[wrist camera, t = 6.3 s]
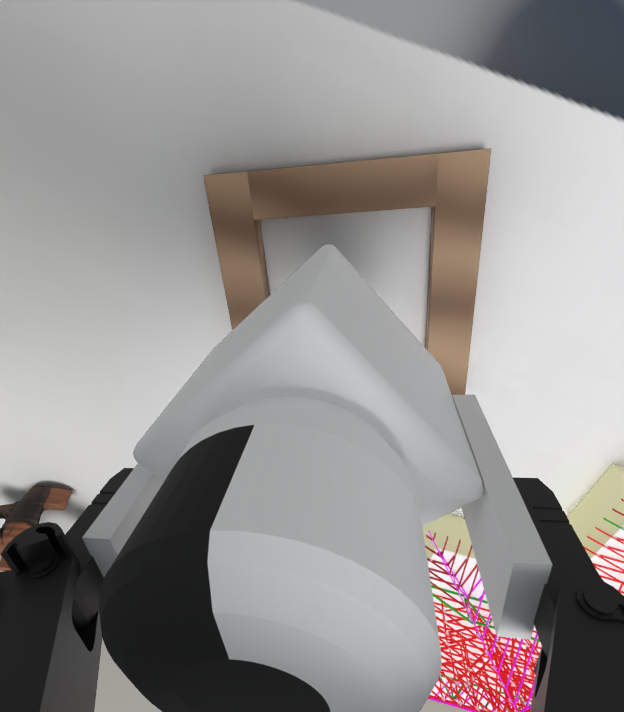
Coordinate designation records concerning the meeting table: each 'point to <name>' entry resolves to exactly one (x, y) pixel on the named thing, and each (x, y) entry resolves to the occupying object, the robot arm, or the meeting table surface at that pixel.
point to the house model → (472, 614)
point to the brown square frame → (360, 194)
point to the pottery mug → (29, 513)
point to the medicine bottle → (294, 514)
